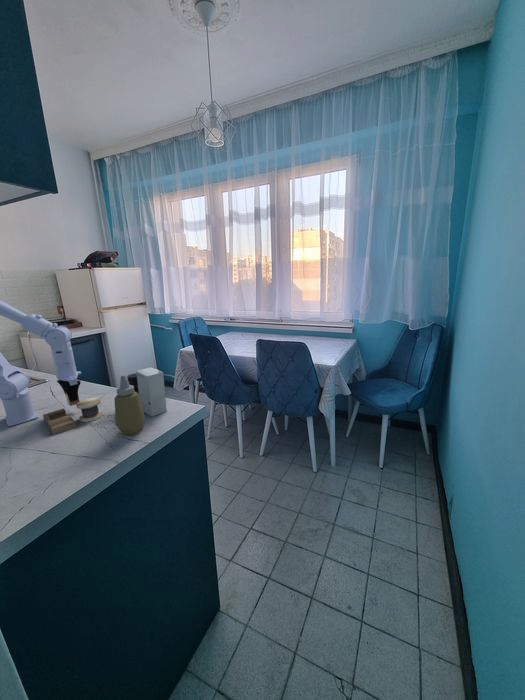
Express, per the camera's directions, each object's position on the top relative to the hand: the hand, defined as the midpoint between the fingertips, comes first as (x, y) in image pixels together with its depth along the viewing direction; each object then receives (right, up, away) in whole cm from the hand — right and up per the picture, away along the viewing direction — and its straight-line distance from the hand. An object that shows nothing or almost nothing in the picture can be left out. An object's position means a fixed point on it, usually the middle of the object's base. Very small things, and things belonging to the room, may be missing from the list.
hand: (72, 399), depth 102 cm
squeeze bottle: (+27, -8, -13) cm, 31 cm away
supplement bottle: (+22, -3, +4) cm, 22 cm away
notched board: (0, -7, -7) cm, 9 cm away
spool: (+9, -6, -3) cm, 11 cm away
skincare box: (+29, -4, 0) cm, 29 cm away
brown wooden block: (0, -2, +1) cm, 2 cm away
